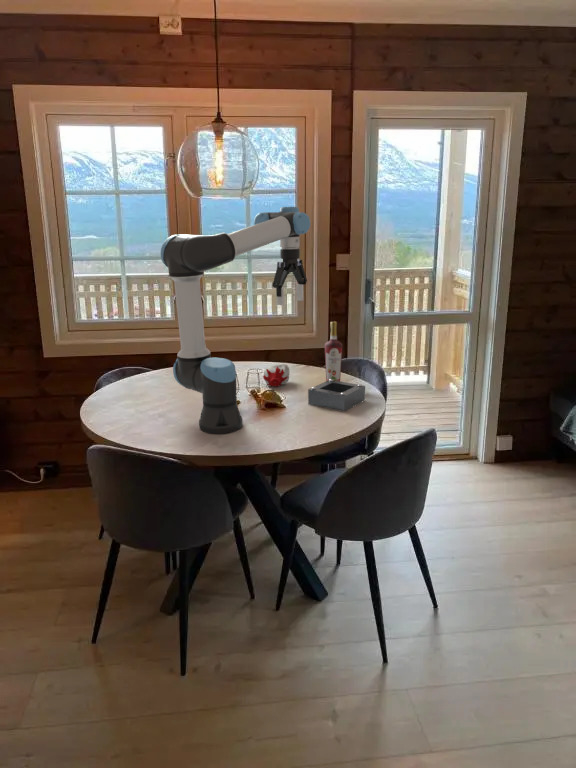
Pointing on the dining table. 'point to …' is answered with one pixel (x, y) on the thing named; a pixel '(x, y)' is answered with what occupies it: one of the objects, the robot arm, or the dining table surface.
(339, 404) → the housing
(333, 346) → the liquor
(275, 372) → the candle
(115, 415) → the dining table surface
